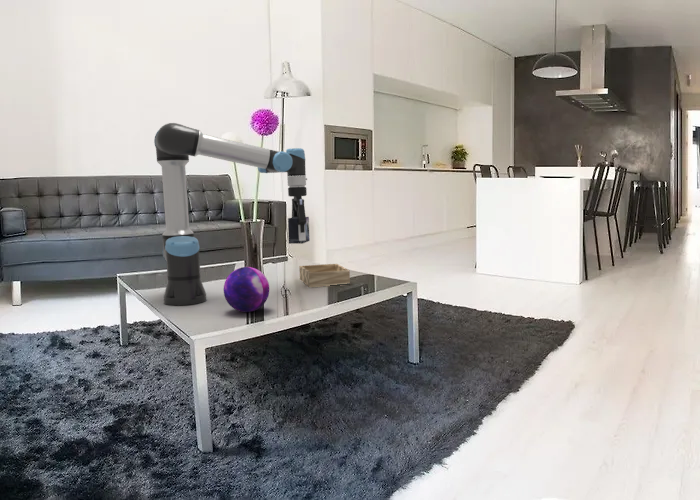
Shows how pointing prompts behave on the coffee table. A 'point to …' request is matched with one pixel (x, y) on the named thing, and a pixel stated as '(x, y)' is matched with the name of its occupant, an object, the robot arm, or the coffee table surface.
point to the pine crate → (324, 275)
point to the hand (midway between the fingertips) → (299, 239)
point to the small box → (295, 232)
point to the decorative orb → (246, 289)
